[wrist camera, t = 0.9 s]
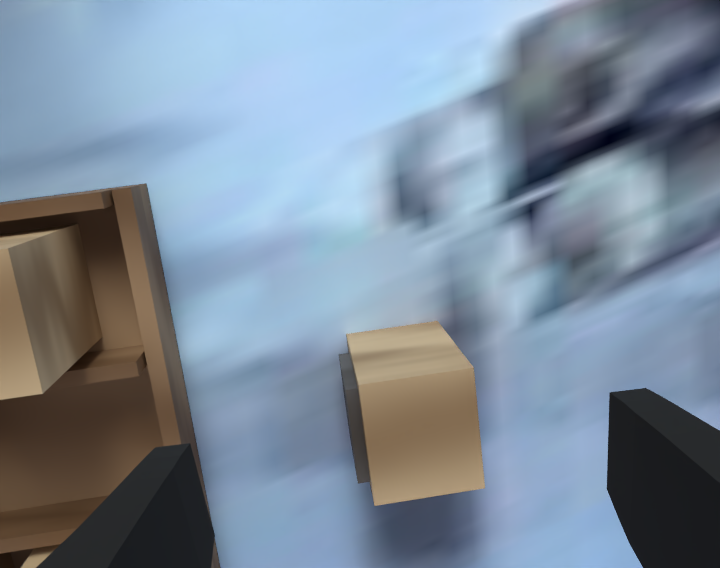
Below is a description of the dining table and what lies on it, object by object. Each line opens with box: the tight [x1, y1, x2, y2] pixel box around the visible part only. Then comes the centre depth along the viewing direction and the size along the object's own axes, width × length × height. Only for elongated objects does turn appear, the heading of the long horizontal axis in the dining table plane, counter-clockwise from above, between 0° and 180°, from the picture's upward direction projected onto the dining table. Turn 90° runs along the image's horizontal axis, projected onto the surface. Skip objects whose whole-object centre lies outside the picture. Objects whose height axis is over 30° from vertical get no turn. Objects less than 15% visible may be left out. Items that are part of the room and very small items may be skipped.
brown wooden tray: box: [0, 184, 220, 568], centre depth 22 cm, size 17×8×6 cm, turn 7°
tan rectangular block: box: [339, 321, 485, 506], centre depth 23 cm, size 4×4×6 cm
